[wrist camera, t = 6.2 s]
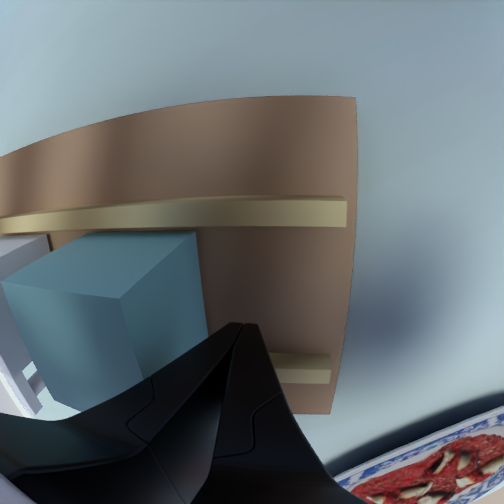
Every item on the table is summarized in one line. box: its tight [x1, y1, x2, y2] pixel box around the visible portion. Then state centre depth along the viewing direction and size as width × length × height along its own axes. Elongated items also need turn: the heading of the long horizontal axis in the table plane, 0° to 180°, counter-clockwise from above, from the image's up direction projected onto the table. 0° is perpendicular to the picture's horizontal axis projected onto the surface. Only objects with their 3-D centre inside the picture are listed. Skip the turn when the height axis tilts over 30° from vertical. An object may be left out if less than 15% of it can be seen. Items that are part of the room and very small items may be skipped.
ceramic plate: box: [333, 406, 504, 504], centre depth 16 cm, size 26×26×3 cm
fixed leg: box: [0, 234, 50, 415], centre depth 11 cm, size 5×9×5 cm, turn 2°
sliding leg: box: [1, 231, 208, 412], centre depth 10 cm, size 5×9×5 cm, turn 2°
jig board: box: [0, 96, 358, 414], centre depth 12 cm, size 19×14×2 cm
